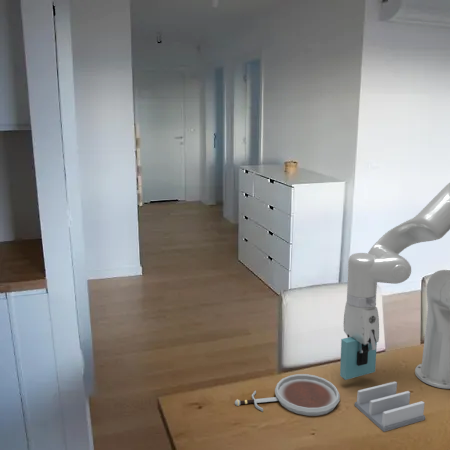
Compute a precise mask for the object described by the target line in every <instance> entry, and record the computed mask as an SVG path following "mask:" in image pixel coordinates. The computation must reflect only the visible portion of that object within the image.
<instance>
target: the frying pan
mask: <svg viewBox="0 0 450 450" xmlns="http://www.w3.org/2000/svg"><path fill="white" fill-rule="evenodd" d="M256 394H257V390H254V391H253V393H252V394H251V399H245V400H240V399H238V398H237V399H236V400H235V401H234V405H235V406H236V407H239V406H240V405H243V404H245V405H247V404H254V407H255V409H257V410H259V411H261V412H263V411H264V408H263V407H261V406H259V405H258V403H259V404H260V403H269V402H279V403H280V405H281V406H282V407H283V408H285V409H286V410H288V411H290V412H292V413H295V414H297V415H301V416H302V415H304V416H307V417H308V416H309V417H311V416H312V417H316V416H317V417H318V416H323V415H326V414H329V413H330V412H332V411H334V409H335V408H336V407H337V405H338V404H339V402H340V397H341V394H340V392H339V390H338V389H337V387H336V386H335V385H334V384H333V383H332V382H331V381H329V380H327V379H326V378H324V377H321V376H318V375H316V374H315V375H314V374H308V373H296V374H291V375H288V376H286V377H283V378H281V379H280V380H279V382H277V383H276V385H275V388H274V394H275V397H274V396H273V397H264V398H263V397H262V398H255V395H256ZM263 413H264V412H263Z"/></svg>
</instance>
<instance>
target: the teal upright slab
mask: <svg viewBox="0 0 450 450" xmlns="http://www.w3.org/2000/svg"><path fill="white" fill-rule="evenodd" d="M340 342H341V343H340V344H341V345H340V366H339V367H340V368H339V369H340V372H339V373H340V374H339V376H340V377H341V378H342V379H344V380H345V381H346V380H351V379H354V378H357V377H362V376H366V375H369V374H372V373H376V366H377V364H376V363H377V362H376V361H377V347H378V346H377V345H378V344H377V343H378V342H375V344H376V350H370V351H369V352H368V363H367V364H364V365H361V366H358V365H357V352H359V342H358V341H357V340H355V339H354V338H352V337H345V338H341V341H340ZM364 346H366V345H363V347H364Z"/></svg>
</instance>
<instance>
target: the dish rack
mask: <svg viewBox="0 0 450 450" xmlns="http://www.w3.org/2000/svg"><path fill="white" fill-rule="evenodd" d="M397 389H398V382H397V381H390V382H386V383H383V384H379V385H375V386H372V387H371V386H370V387H367V388H363V389H362V388H361V389H359V390H357V394H356V395H357V396H356V401H355V402H354V407H355V408H356V409H358V410H359V411H360V412H361V413H362V414H363V415H365V416H366V418H367V419H369V420H370V421H371V422H372V423H374V425H376V426H377V428H379V429H380V430H381V431H382V432H383V433H384V432H388V431H391V430H395V429H398V428H401V427H405V426H408V425H411V424H416V423H418V422H422V421H425V420H426V415H424V411H425V403H426V402H424V401H422V400H421V401H418V402H414V403H411V404H410V399H411V392H410V391H409V390H406V391H402V392H398V393H397Z"/></svg>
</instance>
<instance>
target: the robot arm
mask: <svg viewBox="0 0 450 450" xmlns="http://www.w3.org/2000/svg"><path fill="white" fill-rule="evenodd" d="M449 231H450V182H449V183H447V184H446V185H445V186H444V187H443V188H442V189H441V190H440V191H439V192H438V193H437V194H436V195H435V196H434V197H433V199H431V200H430V201H429V202H428V203H427V204H426V206H424V208H422V209H421V210H420V211H419V212H418V213H417V214H416V215H415V216H414V217H412V218H410V219H407V220H406V221H404V222H402V223H400V224H398V225H396V226H394V227H393V228H391V229H390V230H388V231H387V232H385V234H383V235H382V236H381V237H380V238H379V239H378V240H377V241H376V242H375V243H374V244H373V245H372V246H371V248H370V249H369V250H368V252H367V253H366V252H356V253H352V254H351V255H350V256H349V257H348V262H347V263H348V264H347V286H346V287H347V289H346V302H345V307H344V312H343V313H344V314H343V332H344V334H345V335H346V336H347V337H346V338H348V337H352V338H354V339H355V340H357V341H358V342H359V352H357V365H358V366H361V365H364V364H367V363H368V352H369V351H370V350H376V351H377V348H376V344H375V342H377V343H379V340H380V317H379V310H378V307H377V306H376V305H377V289H378V288H377V287H378V286H377V285H378V283H382V284H383V283H384V284H401V283H403V282H405V281H407V280H408V279H409V278H410V276H411V274H412V265H411V264H410V262H409V261H408V260H407V258H405V257H403V256H401V254H400V253H401V252H403V251H404V250H405V249H407V248H408V247H410V246H413V245H416V244H419V243H426V242H434V241H437V240H440V239H442V238H443V237H444V236H445V235H446V234H447V233H448V232H449ZM426 299H427V300H426V301H427V311H426V312H427V314H426V316H427V317H426V322H425V323H426V324H425V331H424V332H425V334H424V341H423V350H422V360H421V363H419V364H418V365H416V366H415V369H414V373H415V376H416V377H417V379H419V380H420V381H421V382H423V383H425V384H427V385H429V386H432V387H435V388H438V389H447V390H449V389H450V270H448V269H440V270H437V271H435V272H434V273H433V274H431V275H430V277H429V278H428V280H427V283H426ZM363 345H366V346H364V347H363Z"/></svg>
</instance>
